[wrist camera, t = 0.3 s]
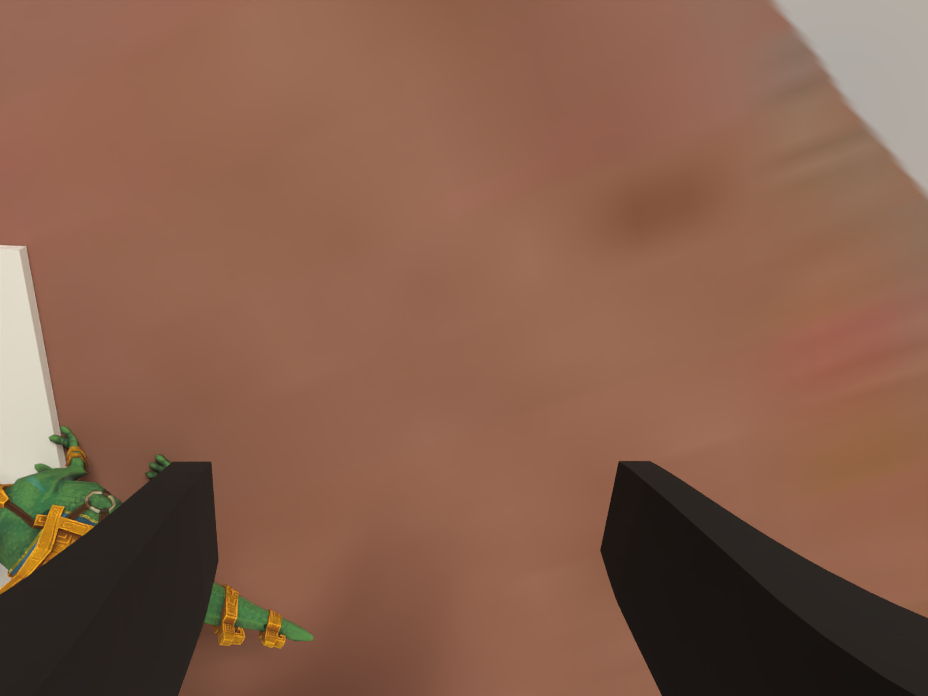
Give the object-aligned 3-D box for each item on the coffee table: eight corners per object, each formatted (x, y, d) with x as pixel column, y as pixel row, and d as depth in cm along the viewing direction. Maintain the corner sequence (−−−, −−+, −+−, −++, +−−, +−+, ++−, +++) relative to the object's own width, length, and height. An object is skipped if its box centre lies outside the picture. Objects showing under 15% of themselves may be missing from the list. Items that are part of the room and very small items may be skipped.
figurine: (-38, 374, 19) (-245, 572, 11) (329, 505, 24) (346, 702, 16) (-75, 456, 19) (-292, 691, 12) (289, 567, 24) (289, 782, 17)
